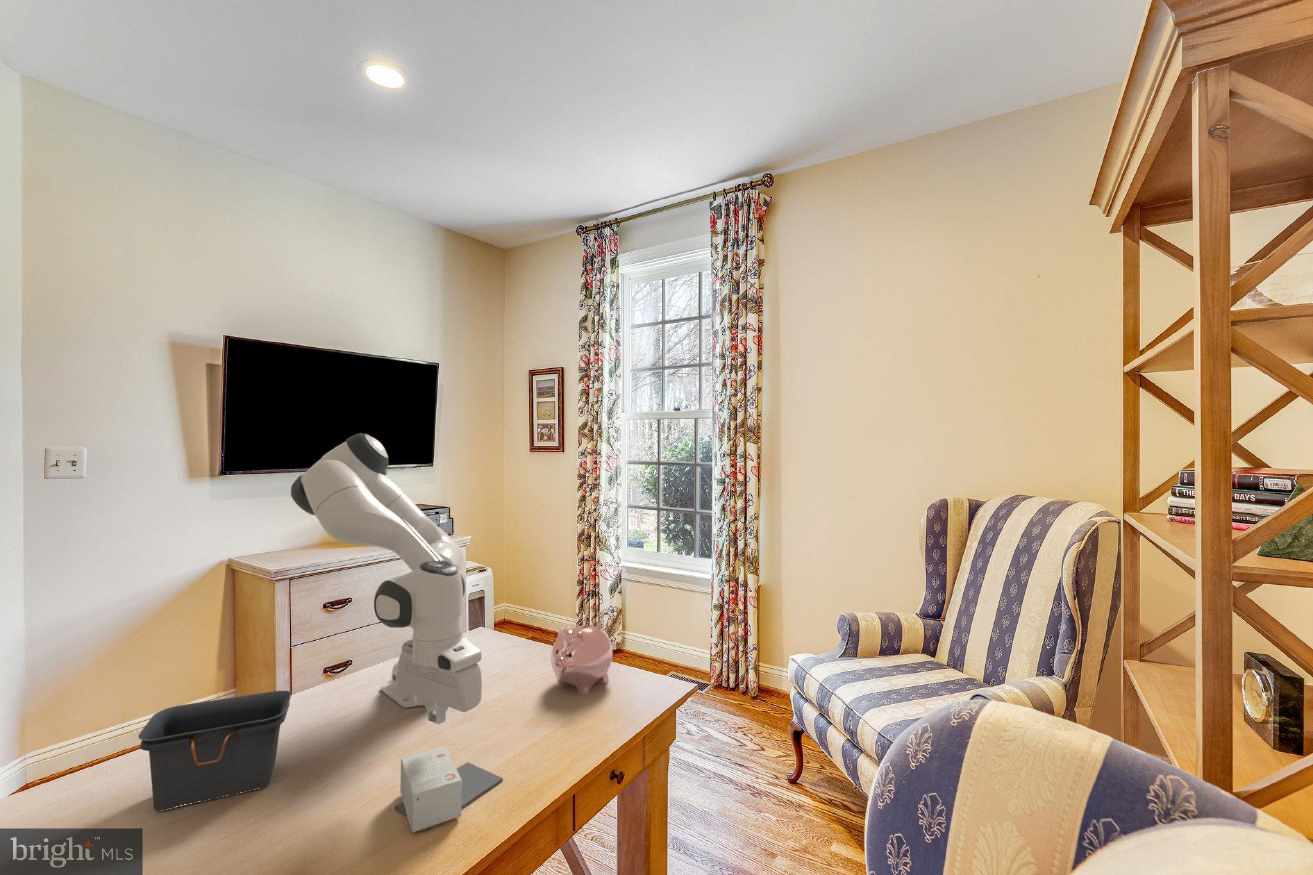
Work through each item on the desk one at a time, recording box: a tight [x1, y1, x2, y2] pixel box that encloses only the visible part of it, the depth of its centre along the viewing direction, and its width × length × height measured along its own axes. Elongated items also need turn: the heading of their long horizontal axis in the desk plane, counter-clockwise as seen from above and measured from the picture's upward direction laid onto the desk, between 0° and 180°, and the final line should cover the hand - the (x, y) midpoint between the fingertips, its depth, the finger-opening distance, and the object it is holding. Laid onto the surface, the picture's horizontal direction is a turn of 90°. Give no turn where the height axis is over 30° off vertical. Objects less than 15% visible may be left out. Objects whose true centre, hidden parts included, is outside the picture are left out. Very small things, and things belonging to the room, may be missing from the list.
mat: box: [393, 761, 504, 831], centre depth 101 cm, size 10×16×1 cm, turn 149°
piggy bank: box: [550, 621, 613, 696], centre depth 148 cm, size 15×18×16 cm
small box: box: [399, 745, 462, 834], centre depth 98 cm, size 8×6×13 cm
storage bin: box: [137, 690, 292, 812], centre depth 101 cm, size 21×16×14 cm
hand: (436, 721), depth 104 cm, fingers closed
